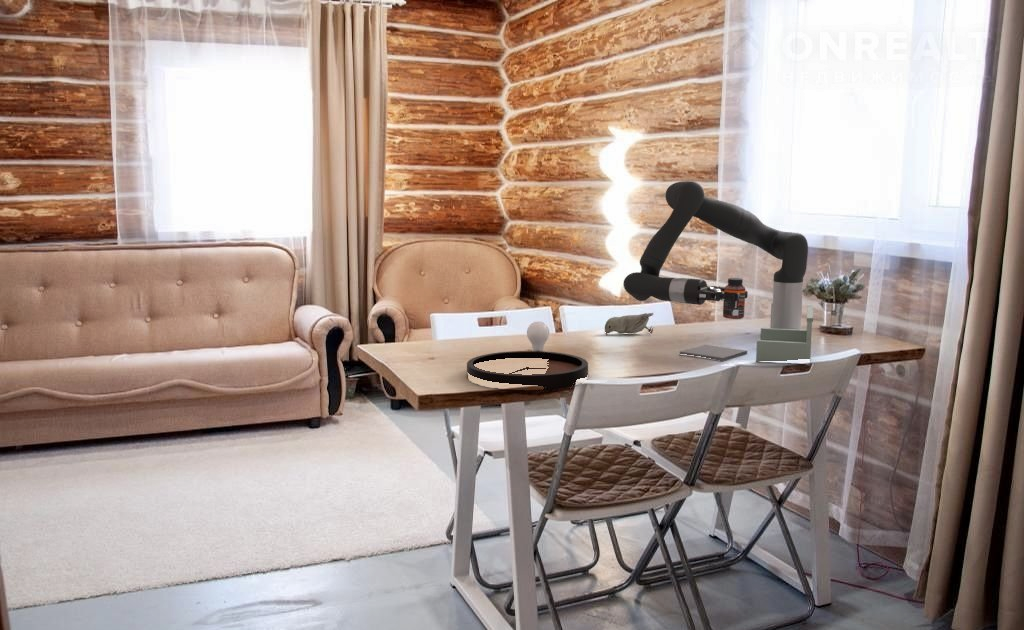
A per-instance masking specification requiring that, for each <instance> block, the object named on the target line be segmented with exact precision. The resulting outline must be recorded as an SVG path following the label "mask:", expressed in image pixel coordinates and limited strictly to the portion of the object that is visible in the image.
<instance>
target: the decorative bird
mask: <svg viewBox="0 0 1024 630" xmlns="http://www.w3.org/2000/svg"><path fill="white" fill-rule="evenodd" d="M653 316H654V312H648V313H646V312H645V313H641V314H629V315H623V316H613V317H610V318H608V319H607V321H606V322H605V324H604V333H605V332H606V333H609V334H610V333H613V332H616V333H618V334H620V333H633V334H637V333H640V332H643V331H644V329H646V330H648V331H647V333H648V332H650V333H651V334H652V333H653V332H654V328H655V326H652V325H651V326H650V327H649V328H648V327H647V325H648V322H649V320H650V317H653ZM650 333H649V334H650Z"/></svg>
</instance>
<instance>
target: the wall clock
mask: <svg viewBox="0 0 1024 630" xmlns="http://www.w3.org/2000/svg"><path fill="white" fill-rule="evenodd" d="M505 358H542V359H549V360H548V361H547V362H549V363H547V364H549V365H547V366H548V367H549V368H548V369H547V371H546V373H545V374H532V375H522V374H512V373H515V372H518V371H522V370H525V369H527V370H528V369H546V368H529V367H526V368H523V369H520V370H517V371H515V372H512V373H509V374H504V373H496V372H490V371H485V370H482V369H479V368H477V367H475V366H474V364H476V363H479V362H484V361H489V360H496V359H505ZM467 372H468V373H469V374H470V375H472V376H474V377H477V378H480V379H483V380H487V381H492V382H499V383H509V384H522V385H538V386H543V387H544V389H543V390H542V391H553V390H560V389H567V388H571V387H575V386H574V385H575V382H576V380H577V379H580V378H585V377H587V375H588V376H589V362H588V361H587V360H586V359H585V358H583V357H580V356H577V355H575V354H570V353H564V352H556V351H545V350H543V351H533V350H514V351H513V350H512V351H502V352H501V351H500V352H499V351H498V352H493V353H485V354H482V355H477V356H475V357H472V358H471V359H469V360H468V361H467V362H466V373H467ZM573 383H574V384H573ZM572 385H573V386H572ZM545 387H546V388H545Z"/></svg>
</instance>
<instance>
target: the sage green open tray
mask: <svg viewBox="0 0 1024 630" xmlns="http://www.w3.org/2000/svg"><path fill="white" fill-rule="evenodd" d="M813 308H814V307H813V306H806V329H801V330H795V329H773V328H770V327H761V328H760V339H758V340H756V350H755V351H756V353H755V354H756V355H755V357H756V358H755V361H787V360H798V359H810V360H811V355H812V354H811V353H812V351H811V350H812V332H813V331H812V330H813V322H814V309H813ZM805 366H811V363H810V364H806V365H805Z"/></svg>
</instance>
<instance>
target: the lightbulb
mask: <svg viewBox="0 0 1024 630" xmlns="http://www.w3.org/2000/svg"><path fill="white" fill-rule="evenodd" d="M526 335H527V336H526V337H527V338H528V340H529V342H530V343H531V347H532V349H533V350H532V351H544V349H545V348H544V347H545V344H546V342H547V341H548V339H549V337H550V329H549V326H548V325H547V324H546V323H545V322H542V321H533V322H532V323H530V325H528V327H527V329H526Z"/></svg>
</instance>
